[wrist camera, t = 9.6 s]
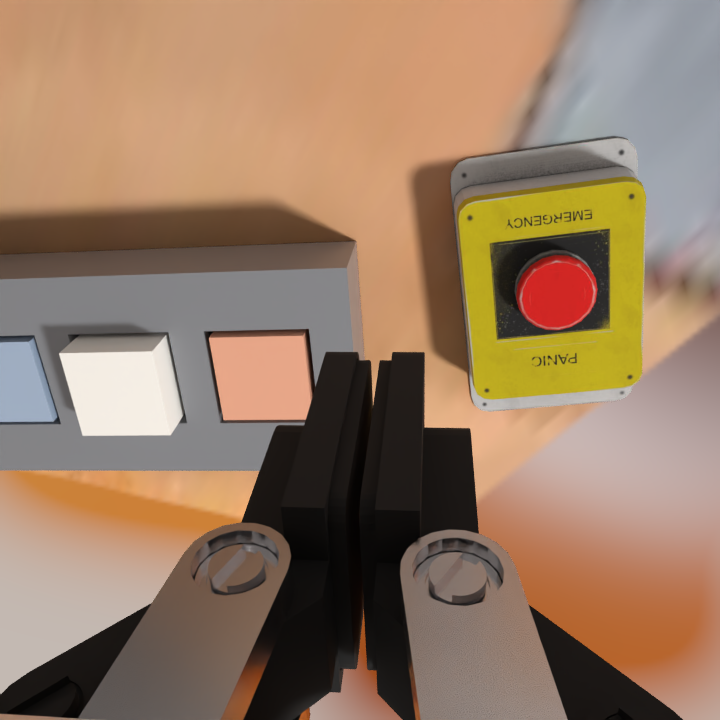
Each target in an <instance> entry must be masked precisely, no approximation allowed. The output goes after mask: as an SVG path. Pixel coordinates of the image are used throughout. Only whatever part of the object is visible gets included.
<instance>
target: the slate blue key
mask: <svg viewBox="0 0 720 720" xmlns="http://www.w3.org/2000/svg"><path fill="white" fill-rule="evenodd" d="M57 417H58V412H57V409H56V406H55V402H54V399H53V396H52V392H51V389H50V386H49V382H48V379H47V376H46V372H45V369H44V366H43V362H42V359H41V356H40V352H39V349H38V346H37V343H36V339H35V336H34V335H23V336H0V422H53V421H54V420H55V419H56V418H57Z"/></svg>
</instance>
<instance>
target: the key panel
mask: <svg viewBox="0 0 720 720" xmlns="http://www.w3.org/2000/svg"><path fill="white" fill-rule="evenodd" d="M282 329H309V334H310V343H311V352H312V361H313V370H314V380H315V387H316V383H317V380H318V376H319V373H320V369H321V366H322V363H323V359H324V356H325V353H326V352H358V354H359V360H365V357H364V343H363V329H362V315H361V301H360V287H359V273H358V259H357V245H356V241H345V242H319V243H292V244H266V245H240V246H214V247H187V248H161V249H135V250H108V251H82V252H56V253H29V254H3V255H0V336H23V335H34V336H35V339H36V343H37V346H38V349H39V352H40V356H41V359H42V362H43V366H44V369H45V372H46V376H47V379H48V382H49V386H50V389H51V392H52V396H53V399H54V402H55V406H56V409H57V412H58V417H57V418H56V419H55V420H54V421H53V422H0V470H124V471H260V469H261V466H262V463H263V460H264V458H265V455H266V452H267V449H268V446H269V443H270V441H271V438H272V435H273V432H274V430H275V428H276V426H278V425H304V424H305V421H306V420H224V419H223V414H222V408H221V403H220V397H219V392H218V386H217V380H216V375H215V369H214V364H213V358H212V353H211V347H210V342H209V337H210V335H211V334H212V333H213V331H239V330H282ZM153 332H168V333H169V338H170V343H171V348H172V352H173V357H174V362H175V367H176V372H177V376H178V381H179V386H180V391H181V396H182V401H183V405H184V410H185V414H184V415H183V417H182V418H181V420H180V421H179V423H178V425H177V426H176V428H175V429H174V431H173V433H172V434H171V435H138V436H83V435H82V432H81V428H80V425H79V421H78V418H77V414H76V411H75V407H74V404H73V400H72V397H71V394H70V390H69V387H68V383H67V380H66V376H65V373H64V369H63V366H62V362H61V359H60V355H59V353H60V352H61V351H62V350H63V349H64V348H65V347H66V346H68V345H69V344H70V343H71V342H72V341H73V340H74V339H75V338H77V337H78V336H79V335H80V334H110V333H153Z"/></svg>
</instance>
